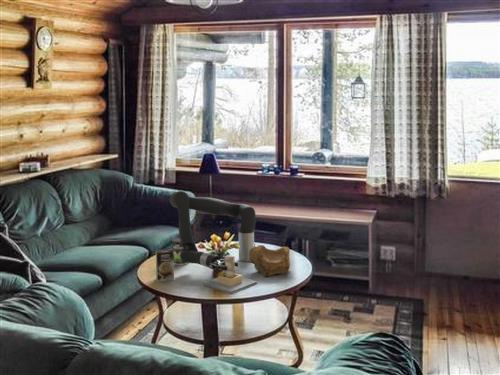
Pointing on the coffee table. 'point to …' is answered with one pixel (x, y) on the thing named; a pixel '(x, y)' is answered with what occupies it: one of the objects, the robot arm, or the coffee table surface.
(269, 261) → the rough brown rock
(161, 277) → the coffee box
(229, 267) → the wooden peg
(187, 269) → the coffee table surface
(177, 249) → the coffee can
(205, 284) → the collar board
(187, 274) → the coffee table surface
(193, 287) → the coffee table surface
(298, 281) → the coffee table surface
